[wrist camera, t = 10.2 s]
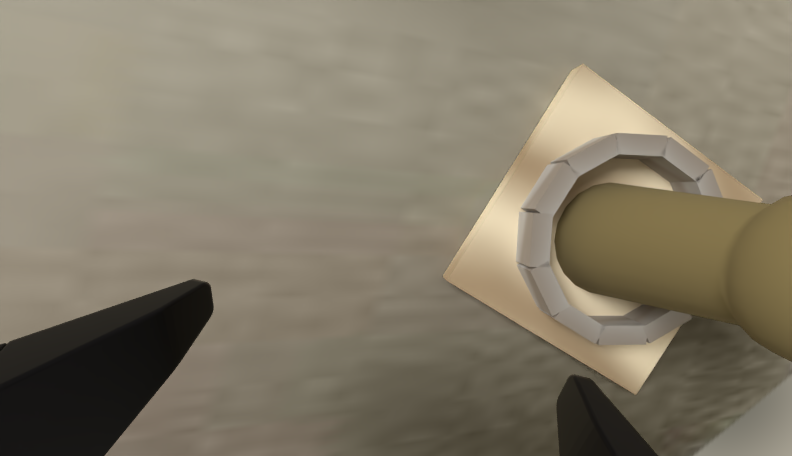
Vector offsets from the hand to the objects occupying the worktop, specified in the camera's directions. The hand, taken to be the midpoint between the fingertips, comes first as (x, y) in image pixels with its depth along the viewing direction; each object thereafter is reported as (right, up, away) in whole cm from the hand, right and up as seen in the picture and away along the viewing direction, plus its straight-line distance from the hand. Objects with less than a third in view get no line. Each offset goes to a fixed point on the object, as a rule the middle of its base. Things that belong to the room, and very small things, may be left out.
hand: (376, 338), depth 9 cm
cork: (+12, +2, +11) cm, 16 cm away
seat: (+12, +2, +11) cm, 17 cm away
